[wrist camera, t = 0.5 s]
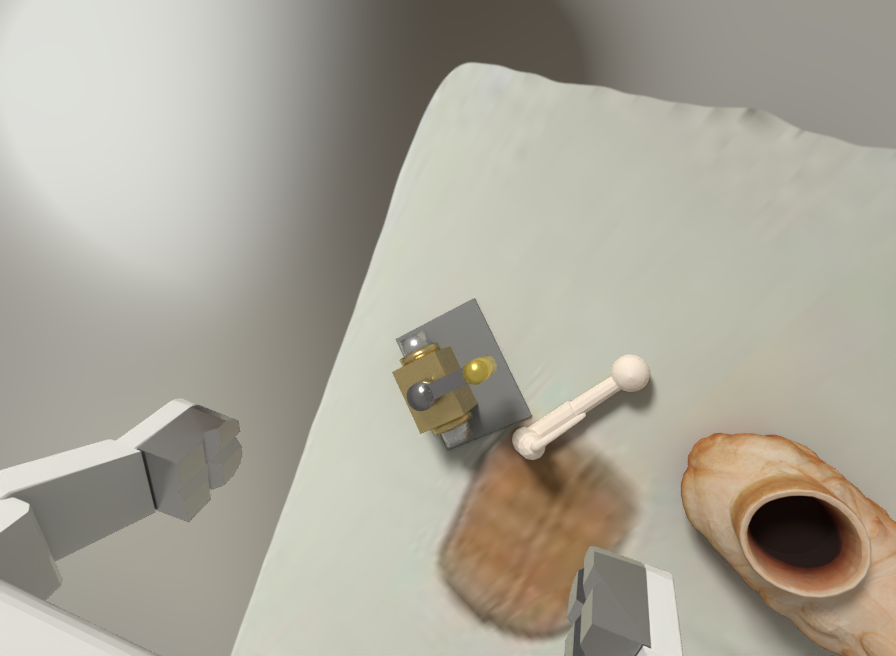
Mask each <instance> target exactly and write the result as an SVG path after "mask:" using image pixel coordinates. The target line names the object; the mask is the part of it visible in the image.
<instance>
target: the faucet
mask: <svg viewBox="0 0 896 656" xmlns="http://www.w3.org/2000/svg"><path fill="white" fill-rule="evenodd" d="M649 378H650V370H649V367H648V365H647V364H646V362H644V361H643V360H642V359H641V358H639V357H638V356H635V355H625V356H622V357H620V358H619V359H618V360H617V361H616V362H615V363H614V365H613V366H612V369H611V377H609V378H608V379H606V380H605V381H603V382H601V383H600V384H598V385H597V386H595V387H593V388H592V389H590V390H589V391H587V392H585V393H584V394H582V395H580V396H579V397H577V398H576V399H574V400H572V401H567V402H566V403H564V404H563V405H561V406H560V407H558V408H557V409H555V410H554V411H552V412H551V413H549V414H548V415H546V416H545V417H543V418H542V419H540V420H539V421H537V422H536V423H534V424H533V425H531V426H530V427H521V428H519V429H517V430H516V431H515V433H514V434H513V438H512V443H513V445H514V448H515V449H516V451H518V452H519V453H520V454H521V455H522V456H524V457H525V458H526V459H530V460H535V459H538V458H540V457H541V456H542V455H543V453H544V452H545V446H546V445H547V444H549V443H550V442H551V441H553V440H554V439H556V438H557V437H559V436H560V435H561V434H563V433H564V432H566V431H567V430H568V429H570V428H571V427H573V426H574V425H575V424H577V423H578V422H580V421H581V420H582V419H583V418H584V417H585V416H586V414H585V413H587V412H588V411H590V410H591V409H593V408H594V407H596V406H597V405H599V404H600V403H602V402H603V401H605V400H606V399H608V398H609V397H610V396H612V395H613V394H615V393H616V392H618V391H619V390H621V389H622V390H624V391H627V392H635V391H638V390H641V389H642V388H644V387H645V386H646V384H647V383H648V381H649Z"/></svg>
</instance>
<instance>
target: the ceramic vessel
mask: <svg viewBox="0 0 896 656" xmlns="http://www.w3.org/2000/svg"><path fill="white" fill-rule="evenodd" d="M681 497H682V502H683V506H684V509H685V512H686V515H687V518H688V519H689V521H690V523H691V524H692V526H694V527H695V528H696V529H697V530H698V531H700V532H701V533H702V534H703V535H704V536H705V537H706V538H707V539H708V540H709V542H710V543H711V545H712V546H713V547H714V548H715V549H716V550H717V551H718V552H719V553H720V554H721V555H722V556H723V557H724V558H725V559H726V560H727V561H728V562H729V563H730V565H731V566H732V567H733V568H734V569H735V570H736V571H737V573H738V574H739V575H741V577H742V578H743V580H744V581H745V582H746V583H747V584H748V585H749V586H750V587H752V588H753V589H754V590H755V591H757V592H758V593H759V594H760V595H761V597H762V599H763V600H764V601H765V603H766V604H767V605H768V606H769V607H770V608H772V609H773V610H774V611H776V612H778V613H779V614H781V615H784V616H786V617H788V618H789V619H790V620H791V621H792V622H793V623H794V624H795V625H796V626H797V627H798V628H799V629H800V630H801V632H802V633H803V634H804V635H805V636H806V637H808V638H809V639H810V640H812V641H813V642H814V643H816V644H818V645H819V646H821V647H823V648H824V649H827V650H829V651H831V652H833V653H836V654H839V655H841V656H896V522H895V521H893V520H892V519H891V518H890V517H889V515H888V513H887V511H885V510H884V509H883V508H881V507H880V506H879V505H878V504H876V503H875V502H873V501H872V500H870V499H869V498H866V497H865V496H864V495H863V494H862V493H861V492H860V490H859V489H858V488H857V487H855V486H854V485H853V484H852V483H850V482H849V481H848V480H847V479H846V478H845V477H844V476H843V475H842V474H841V473H839V472H838V471H837V470H836V469H835V468H833V467H831V466H830V465H828V464H826V463H825V462H824V461H822V460H821V459H820V458H819V457H818V456H817V454H816V453H815V452H813V451H812V450H810V449H809V448H807V447H806V446H804V445H801V444H799V443H796V442H794V441H791V440H788V439H786V438H784V437H781V436H777V435H766V436H762V435H757V434H745V433H744V434H735V435H729V434H723V433H716V434H713V435H711V436H709V437H707V438H703V439H700V440H699V441H698V442H697V443H696V444H695V445H694V447H693V449H692V451H691V453H690V454H689V455H688V468H687V470H686V471H685V473H684V475H683V478H682V482H681Z"/></svg>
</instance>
